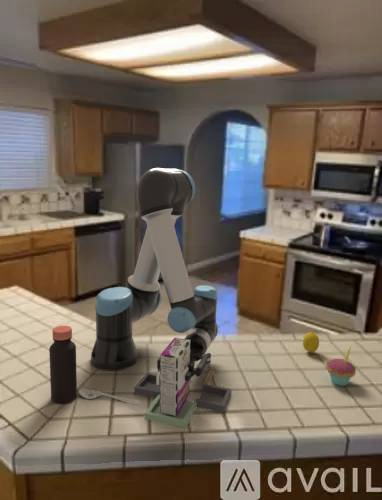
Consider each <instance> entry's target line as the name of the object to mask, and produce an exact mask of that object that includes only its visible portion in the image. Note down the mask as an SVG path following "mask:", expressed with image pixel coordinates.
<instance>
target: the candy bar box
mask: <svg viewBox="0 0 382 500" xmlns="http://www.w3.org/2000/svg"><path fill="white" fill-rule="evenodd" d="M190 341H191V340H187V339H185V338H179V337H174V338H173V339H172V340H171V342H170V343H168V345H167V346H166V347H165V348H164V349H163V350H162V352H161V353H160V355H159V358H160V413H162V414H167V415H172V416H177V415H178V414H179V412H180V410H181V408H182V406H183V405H184V403H185V401H188V400H187V399H188V398H189V396H190V395H191V393H190V391H191V390H190V388H191V387H190V386H191V385H190V384H191V379H190V380H189V381H186V382H185V383H184V385H183V386H182V388H181V389H178V378H179V376H180V375H181V374H182V372H183V371H184V369H185V368H186V367H189V365H190Z"/></svg>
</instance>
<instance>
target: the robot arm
mask: <svg viewBox="0 0 382 500" xmlns="http://www.w3.org/2000/svg"><path fill="white" fill-rule="evenodd" d="M195 194H196V184H195V181H194V179H193V177H192V175H191V174H190V173H188V172H187V171H185V170H182V169H179V168H174V167H173V168H162V167H155V168H151V169H149V170H147V171H145V172H144V173H143V174H142V175H141V176H140V178H139V181H138V183H137V187H136V201H137V207H138V211H139V215H140V218H141V219H142V220H143V221H145V223H146V225H147V226H146V229H145V233H144V237H143V241H142V243H141V247H140V251H139V255H138V258H137V262H136V264H135V269H134V273H133V274H132V275H130V276H128V277H127V280H126V284H125V287H124V286H115V287H109V288H105V289H103V290H101V291H100V292H99V293H98V294H97V296H96V299H95V328H96V329H95V331H96V332H95V333H96V334H95V335H96V336H95V342H94V344H93V348H92V350H91V355H90V363H91V364H92V365H93V366H94V367H95V368H97V369H100V370H105V371H119V370H124V369H128V368H129V367H132V366H133V365H136V363H137V361H138V349H137V347H136V343H135V341H134V337H133V324H135V322H139V321H140V320H142V319H144V318H146V317H147V316H151V314H153V313H154V312H156V310H157V309H159V308H160V305H161V303H162V293H161V284H160V282H159V281H158V280H159V277H160V275H161V278H162V281H163V285H164V289H165V292H166V295H167V298H168V302H169V306H170V308H171V310H170V311H169V312H168V314H167V319H166V320H167V323H168V326H169V327H170V329H171V330H172V331H173V332H175V333H179V334H183V333H186V332H188V331H189V330H190V332H189V333H187V335H186V337H184V339H187V340H191V341H190V365H189V367H186V368H185V369H184V371H183V372H182V374H181V375H180V376H179V378H178V389H181V388H182V386H183V385H184V383H185V382H186V381H189V380H190V381H191V379H192V377H194V376H196V377H197V378H200V377H201V376H202V375H203V373H204V371H205V369H206V367H207V366H208V364H210V363H212V353H210V352H207V351H208V349H209V348H210V346H211V344H212V343H213V341H214V340H215V339H216V338H217V335H218V332H219V325H218V323H217V303H218V295H217V294H218V292H217V289H216V287H214V286H211V285H198V286H196V287H194V289H193V288H192V284H191V280H190V278H189V275H188V271H187V267H186V263H185V260H184V256H183V253H182V250H181V249H182V248H181V245H180V242H179V239H178V236H177V233H176V227H175V224H176V222H177V219H179V218H180V217H183V213H184V211H185V208H186V205H187V204H189V203H190V202H191V201H192V200H193V199H194V197H195ZM206 352H207V353H206ZM156 361H157V362H156V363H157V364H156V365H157V366H156V369H157V375H156V385H160V357H158V359H157V360H156ZM198 361H199V362H198ZM196 362H198V364H197V366H196V365H195V364H196ZM195 366H196V367H195Z"/></svg>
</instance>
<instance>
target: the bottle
mask: <svg viewBox="0 0 382 500" xmlns="http://www.w3.org/2000/svg"><path fill="white" fill-rule="evenodd" d="M72 337H73V329H72V327H71V326H69V325H58V326H55V327H54V328H52V340H53V343H52V344H50V346H49V350H48V351H49V377H50V399H51V401H52V402H53V403H55V404H58V405H59V404H61V405H62V404H63V405H65V404H69V403H71V402H73V401H74V400H76V398H77V396H78V386H77V385H78V383H77V345H76V344H75V342H73V341H72Z"/></svg>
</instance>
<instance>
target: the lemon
mask: <svg viewBox="0 0 382 500" xmlns="http://www.w3.org/2000/svg"><path fill="white" fill-rule="evenodd" d="M319 338H320V337H319V336H318V334H316V333H315V332H313V331H310V332H307V333H306V334H305V335H304V336H303V340H302V345H303V349H304V350H305V351H307V352H308V353H309V354H311V353H315V352H316V351H317V350H318V349H319V346H320V340H319Z"/></svg>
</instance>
